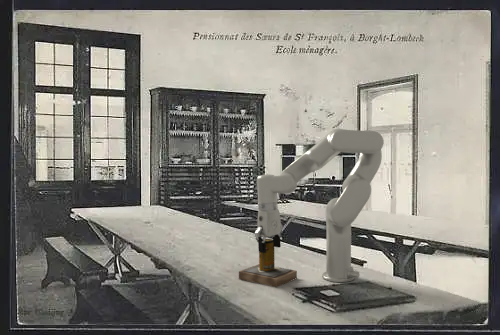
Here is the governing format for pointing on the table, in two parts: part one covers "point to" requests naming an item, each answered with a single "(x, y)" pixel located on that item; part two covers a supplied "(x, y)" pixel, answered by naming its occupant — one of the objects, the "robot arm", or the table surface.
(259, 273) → the tray
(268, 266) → the condiment
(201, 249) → the table surface
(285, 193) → the robot arm
